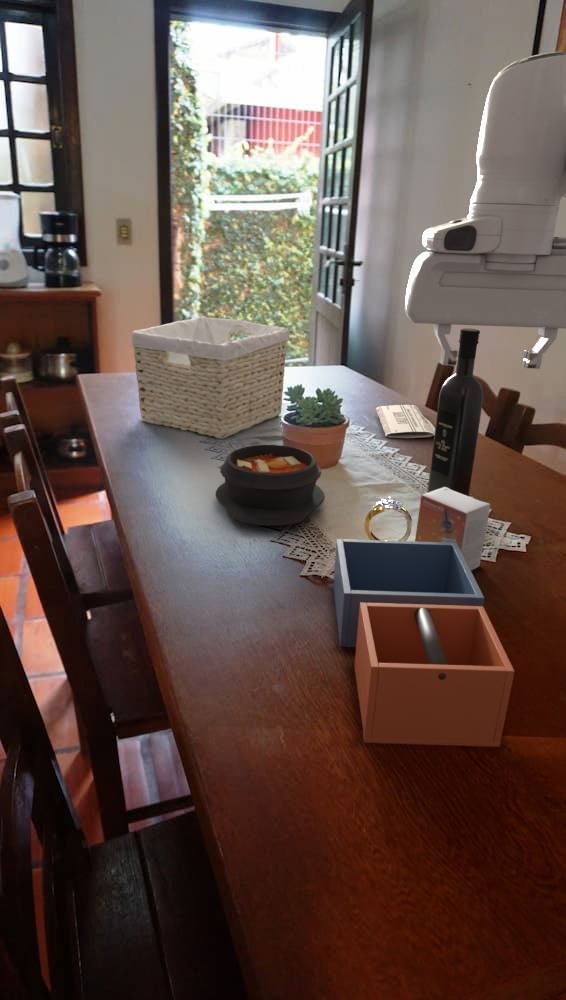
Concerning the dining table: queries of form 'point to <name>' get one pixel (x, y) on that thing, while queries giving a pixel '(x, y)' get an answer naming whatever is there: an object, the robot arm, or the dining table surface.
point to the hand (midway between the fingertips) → (489, 366)
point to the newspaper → (404, 422)
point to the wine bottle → (457, 422)
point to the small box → (454, 522)
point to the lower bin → (398, 578)
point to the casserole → (270, 485)
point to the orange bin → (431, 675)
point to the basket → (210, 374)
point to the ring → (385, 505)
